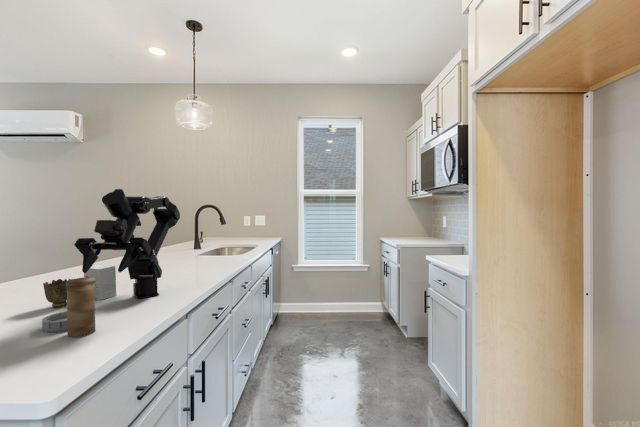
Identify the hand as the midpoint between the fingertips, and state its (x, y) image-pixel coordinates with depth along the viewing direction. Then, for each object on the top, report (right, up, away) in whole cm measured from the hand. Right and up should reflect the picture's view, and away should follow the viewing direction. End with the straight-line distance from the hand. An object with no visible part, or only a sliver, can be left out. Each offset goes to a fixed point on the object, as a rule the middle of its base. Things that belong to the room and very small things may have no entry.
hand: (101, 271), depth 84 cm
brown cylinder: (+1, -14, -8) cm, 16 cm away
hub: (-7, -13, -3) cm, 16 cm away
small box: (-16, -13, +23) cm, 31 cm away
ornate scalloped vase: (-22, -13, +12) cm, 28 cm away
